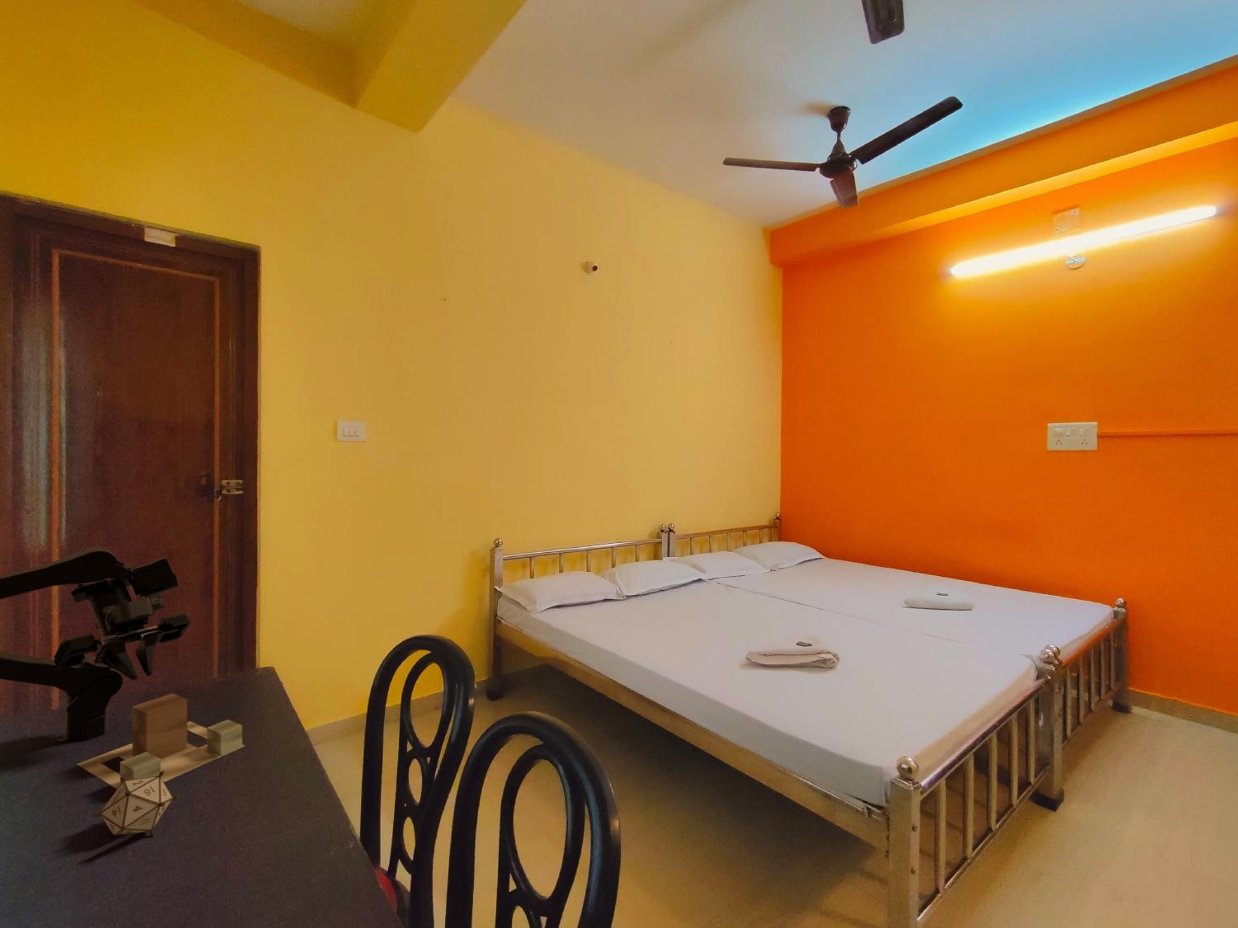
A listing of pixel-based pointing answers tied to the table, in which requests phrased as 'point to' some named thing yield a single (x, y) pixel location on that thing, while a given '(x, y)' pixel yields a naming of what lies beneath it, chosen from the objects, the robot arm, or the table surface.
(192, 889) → the table surface
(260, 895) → the table surface
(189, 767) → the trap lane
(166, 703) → the walnut block
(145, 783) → the game die
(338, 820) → the table surface
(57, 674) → the robot arm
